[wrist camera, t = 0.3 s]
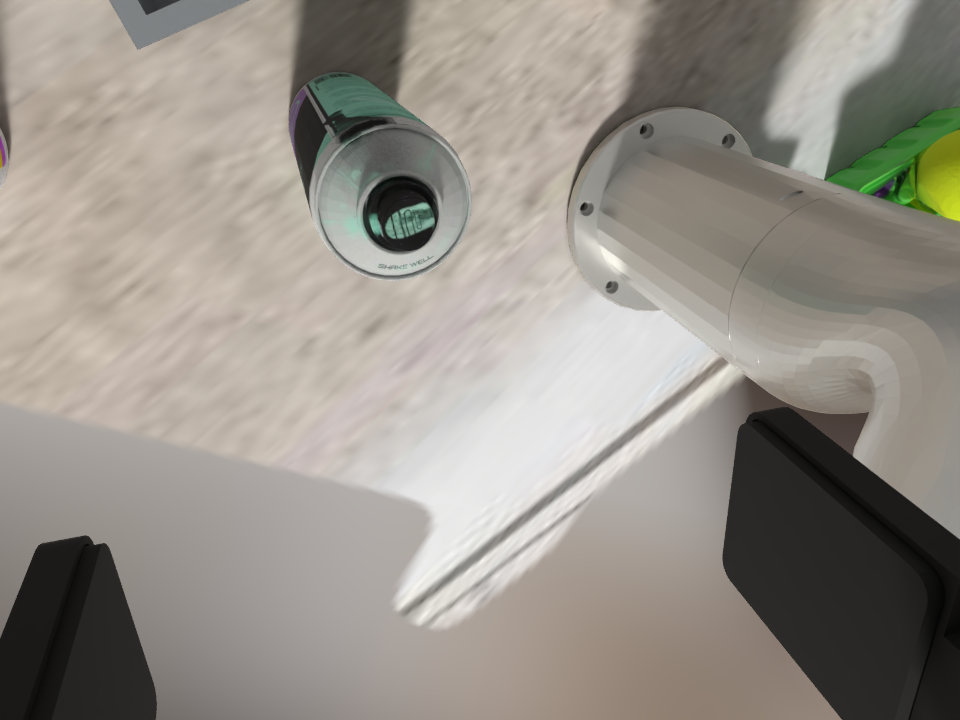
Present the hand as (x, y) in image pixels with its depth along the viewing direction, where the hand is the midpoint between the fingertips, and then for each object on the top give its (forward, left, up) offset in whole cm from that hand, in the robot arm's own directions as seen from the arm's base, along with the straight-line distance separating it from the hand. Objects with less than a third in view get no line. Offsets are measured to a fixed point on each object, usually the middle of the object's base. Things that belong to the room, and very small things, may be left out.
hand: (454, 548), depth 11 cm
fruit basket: (-38, -2, -34) cm, 51 cm away
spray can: (-2, -1, -34) cm, 34 cm away
